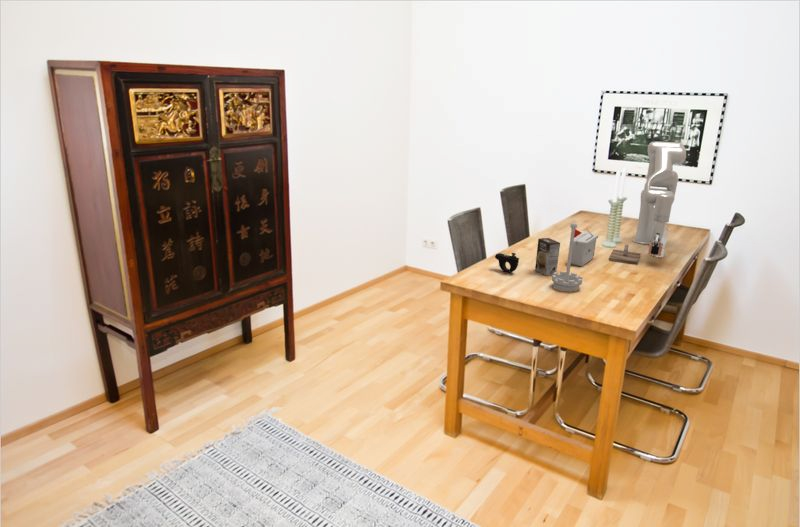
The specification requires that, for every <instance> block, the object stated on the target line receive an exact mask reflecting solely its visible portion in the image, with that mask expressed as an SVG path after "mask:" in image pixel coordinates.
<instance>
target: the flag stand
mask: <svg viewBox="0 0 800 527" xmlns="http://www.w3.org/2000/svg"><path fill="white" fill-rule="evenodd" d="M569 227H570V239H569V247H568V254H567V260H566V261H567V262H566V270H565V271H559V273H558V272H555V273H553V275H551V281H552V282H553V286H554V287H555V288H556V290H557V289H558V291H560V290H562V291H561V292H565V291H569V292H570V293H572V291H575V292H577V290H578V291H579V289H580V285H582V284H583V277H584V276H582V275H577V273H575V272H571V266H572V265H571V258H572V250H573V242H574V238H576V237H578V236H579V235H581V234H582V233H583V232H581V231H580V230H578V229H577V228H578V223H576V222H571V223H570V226H569ZM553 286H552V287H553ZM554 287H553V288H554ZM555 288H554V289H555Z"/></svg>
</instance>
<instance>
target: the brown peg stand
mask: <svg viewBox="0 0 800 527" xmlns="http://www.w3.org/2000/svg"><path fill="white" fill-rule="evenodd" d="M623 248H624V249H623V250H622V249H621V250H620V249H612V251H611V253H610V255H609V256H608V260H609V261H611V262H614V263H623V264H628V265H635V266H637V265H638V264H639V261H640V259H641V256H642V253H640V252H635V251H629V244H625V245H624V247H623ZM609 261H608V262H609Z"/></svg>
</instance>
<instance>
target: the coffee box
mask: <svg viewBox="0 0 800 527" xmlns="http://www.w3.org/2000/svg"><path fill="white" fill-rule="evenodd" d="M560 248H561V242H559V241H557V240H555V239H552V238H550V237H543V238H542V237H541V238H538V240H537V249H536V257H535V258H536V259H535V268H534V271H536V272H538V273H539V274H542V275H543V274H544V275H543V276H545V275H546V276H547V275H549V276H552V275H553V273H555V272H557V271H558V263H559V257H560V256H559V255H560ZM557 273H558V272H557ZM546 276H545V277H546ZM547 277H548V276H547Z"/></svg>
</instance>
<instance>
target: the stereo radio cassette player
mask: <svg viewBox="0 0 800 527" xmlns="http://www.w3.org/2000/svg"><path fill="white" fill-rule="evenodd" d="M585 230H587V232H586V231H585V232H582V233H581V234H580V235H578V236H577V237H575V238H574V242H573V250H572V258H571V264H572V265H571V266H577V267H578V266H579V267H581V266H582V267H583V266H584V265H586V264H587V263H589V262H590V261H591V260H592V259H594V256H595V250H596V243H597V239H598V238H599V234H597V233H591V232H590V230H589V229H588V228H587V227H586V228H585Z"/></svg>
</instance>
